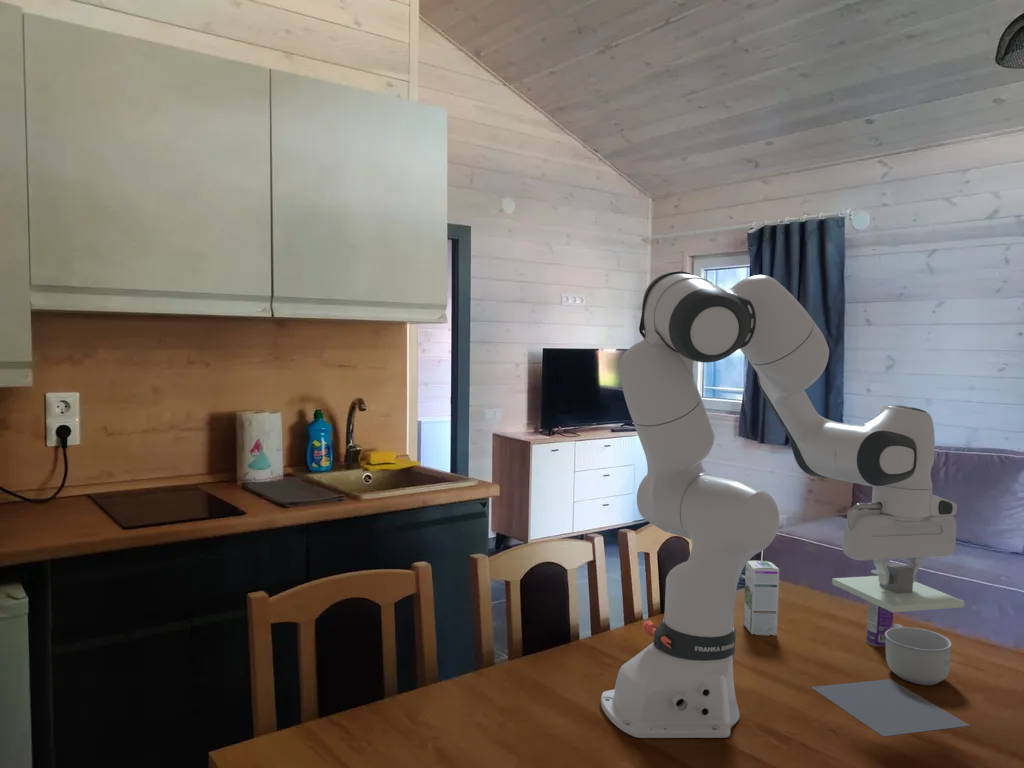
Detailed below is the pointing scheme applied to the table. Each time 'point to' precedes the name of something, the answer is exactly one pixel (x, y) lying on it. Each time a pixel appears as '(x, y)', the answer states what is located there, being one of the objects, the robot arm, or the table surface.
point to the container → (877, 622)
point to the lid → (898, 591)
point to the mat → (889, 707)
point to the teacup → (918, 654)
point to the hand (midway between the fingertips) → (896, 583)
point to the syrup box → (761, 598)
